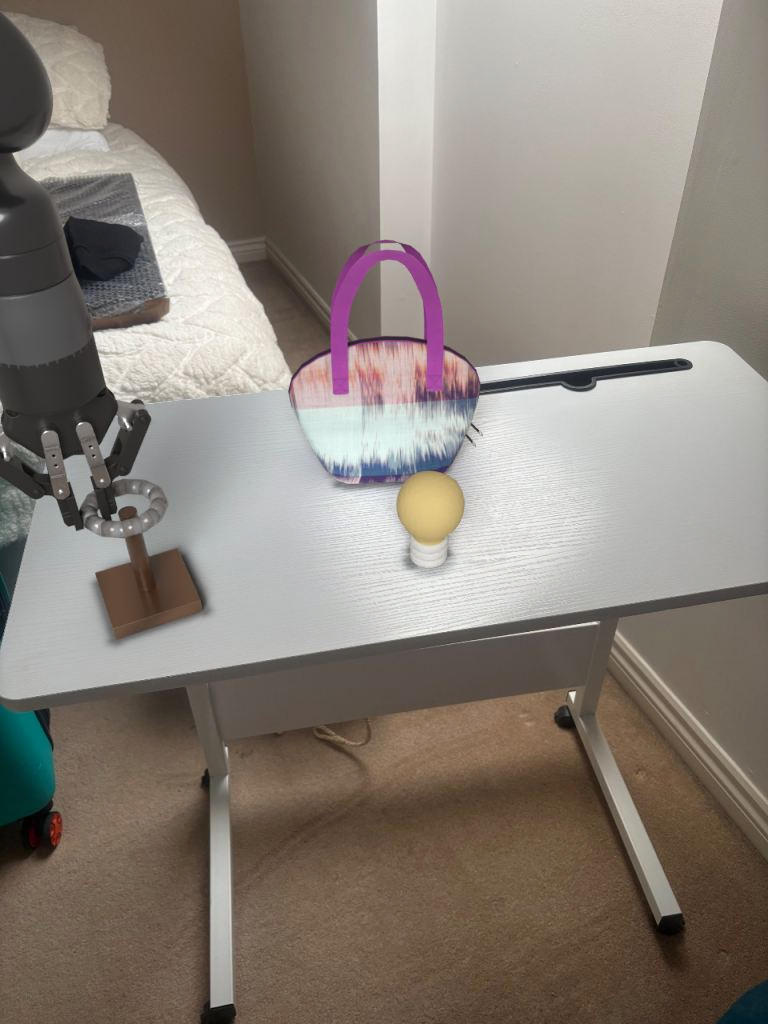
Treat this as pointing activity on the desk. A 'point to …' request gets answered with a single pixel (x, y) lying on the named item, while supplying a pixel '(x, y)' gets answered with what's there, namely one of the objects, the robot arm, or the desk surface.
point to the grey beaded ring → (131, 525)
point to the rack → (146, 587)
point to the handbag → (385, 388)
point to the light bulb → (430, 515)
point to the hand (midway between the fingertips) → (91, 520)
